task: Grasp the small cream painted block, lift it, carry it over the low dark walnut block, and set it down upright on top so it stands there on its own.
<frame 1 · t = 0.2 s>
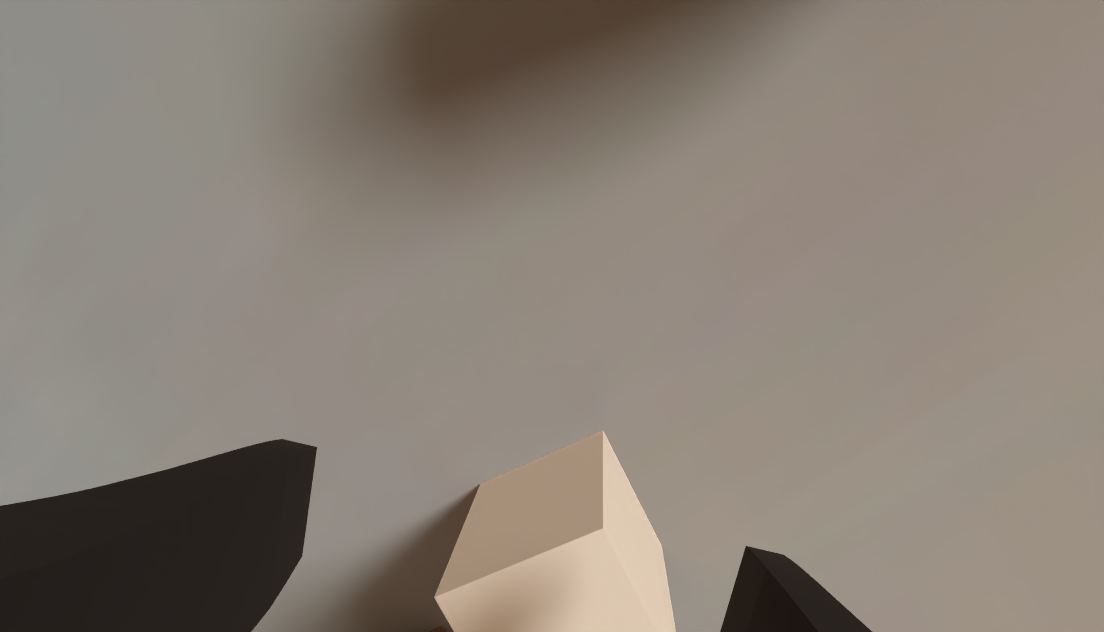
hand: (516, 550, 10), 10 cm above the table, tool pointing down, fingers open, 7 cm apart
cream block: (571, 514, 21), on the table
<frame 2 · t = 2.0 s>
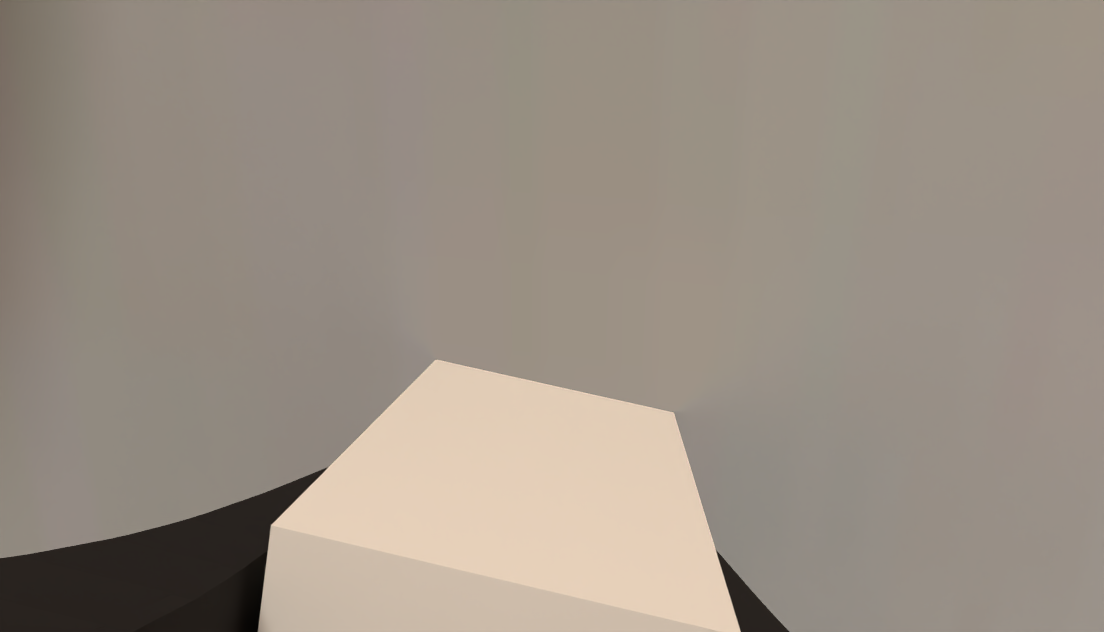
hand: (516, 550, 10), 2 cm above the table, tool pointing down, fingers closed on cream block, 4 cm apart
cream block: (530, 495, 12), on the table, touching gripper
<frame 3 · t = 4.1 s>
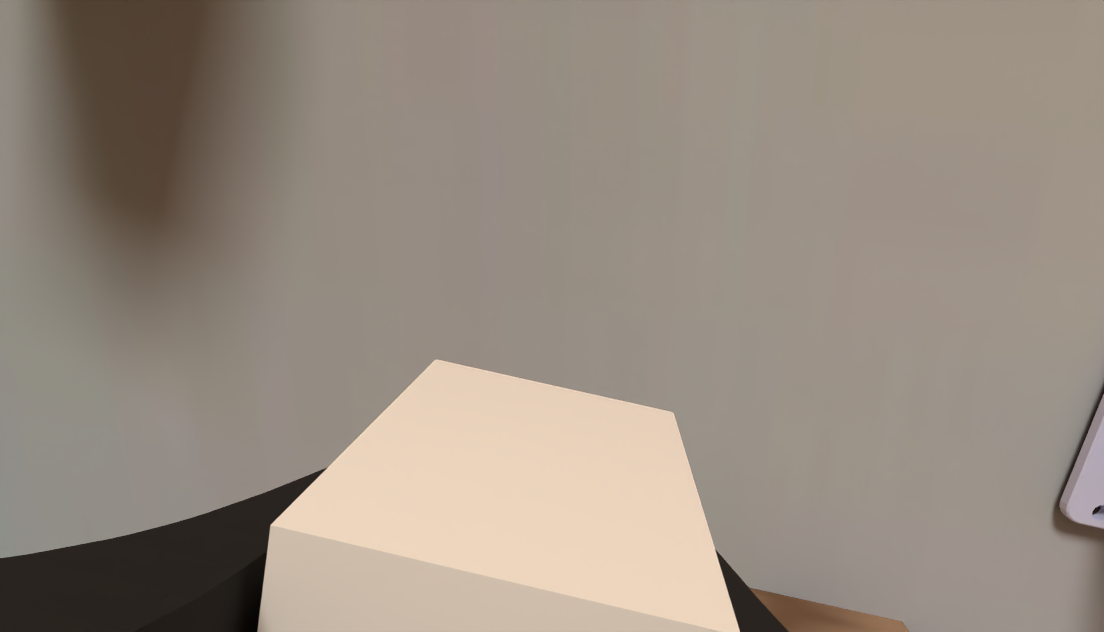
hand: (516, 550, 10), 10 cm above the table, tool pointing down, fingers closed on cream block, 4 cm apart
cream block: (529, 495, 12), point 8 cm above the table, touching gripper
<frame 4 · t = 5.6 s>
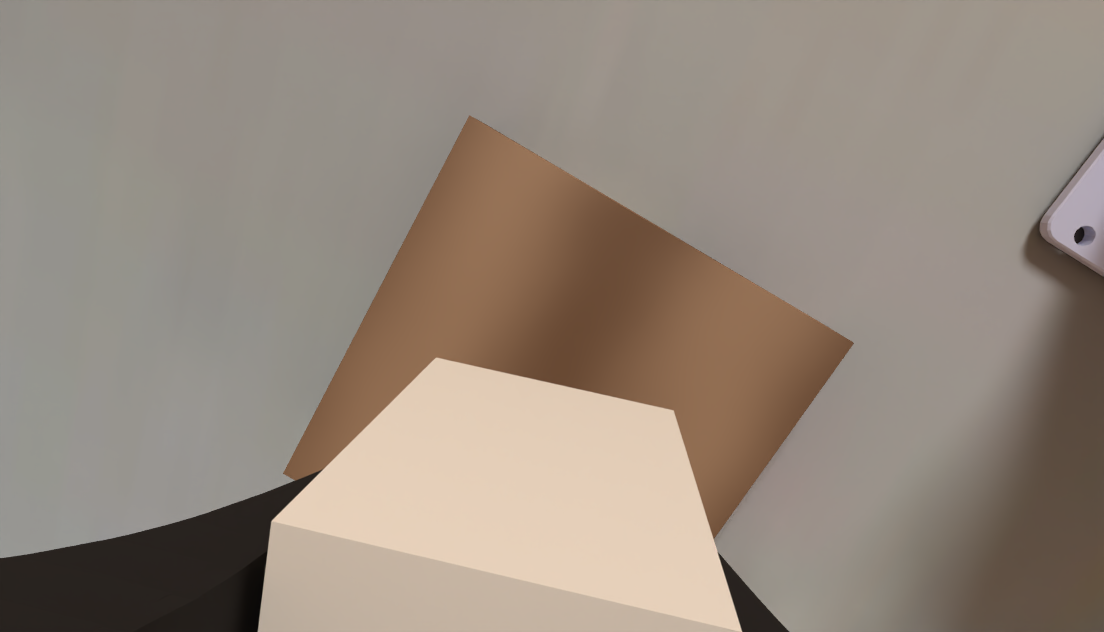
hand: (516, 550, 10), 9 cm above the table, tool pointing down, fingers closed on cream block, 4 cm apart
cream block: (530, 493, 12), point 7 cm above the table, touching gripper
walnut block: (559, 379, 20), on the table
when the fingers open (6 cm above the table, at t = 6.6 s): cream block drops 2 cm, point 2 cm above the table.
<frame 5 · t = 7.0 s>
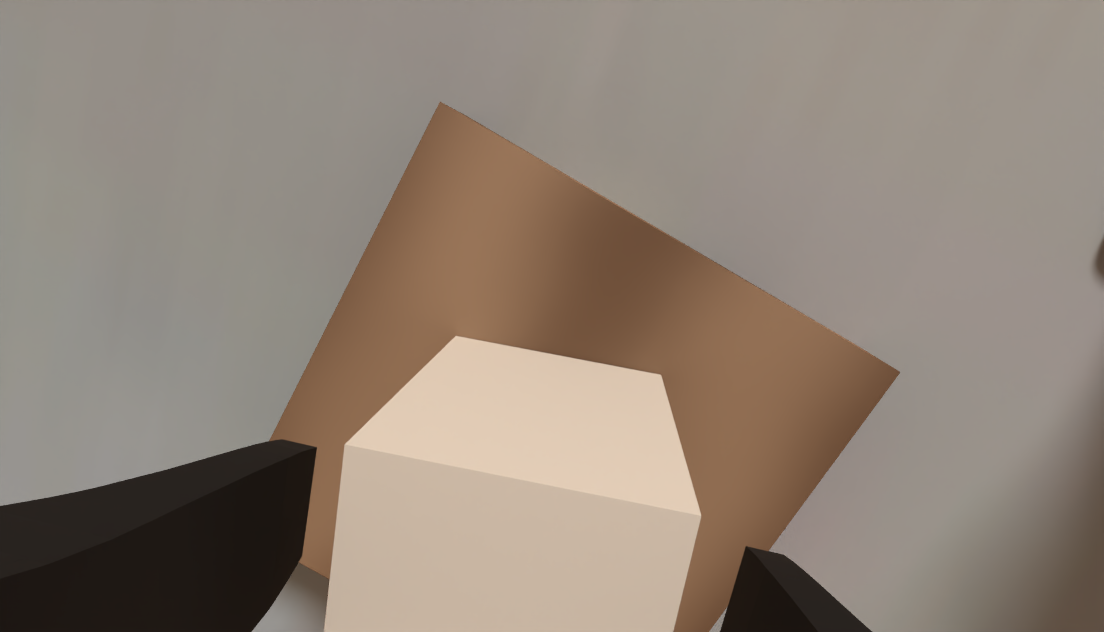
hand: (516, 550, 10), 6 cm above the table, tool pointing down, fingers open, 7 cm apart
cream block: (540, 451, 14), point 2 cm above the table
walnut block: (551, 407, 17), on the table
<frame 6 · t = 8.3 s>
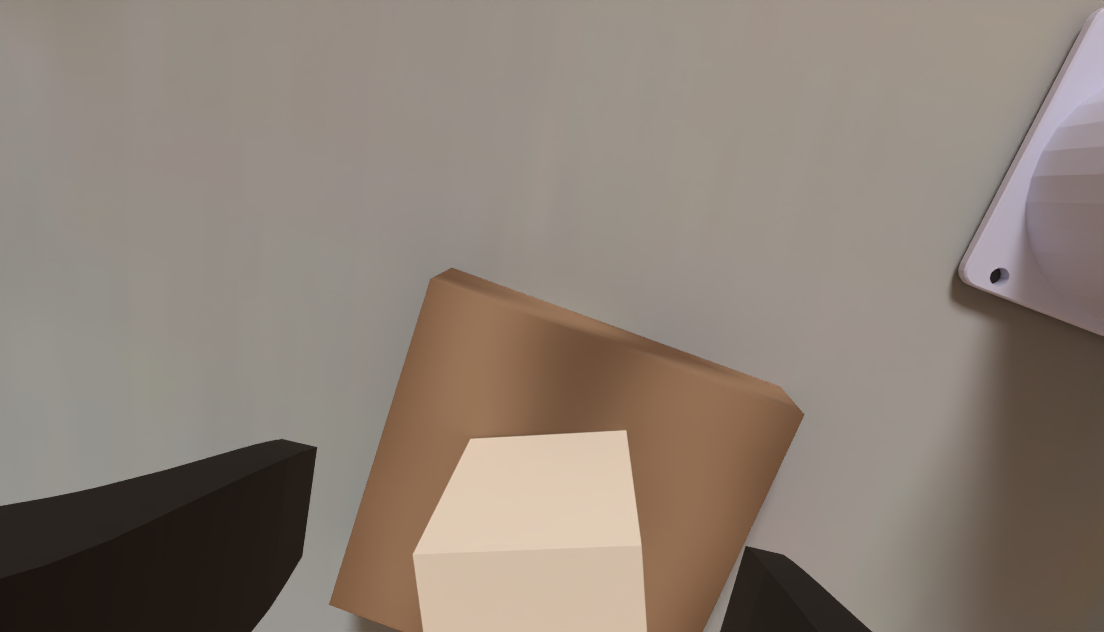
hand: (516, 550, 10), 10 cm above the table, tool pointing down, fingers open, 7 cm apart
cream block: (554, 506, 19), point 2 cm above the table, touching walnut block
walnut block: (558, 471, 22), on the table, touching cream block
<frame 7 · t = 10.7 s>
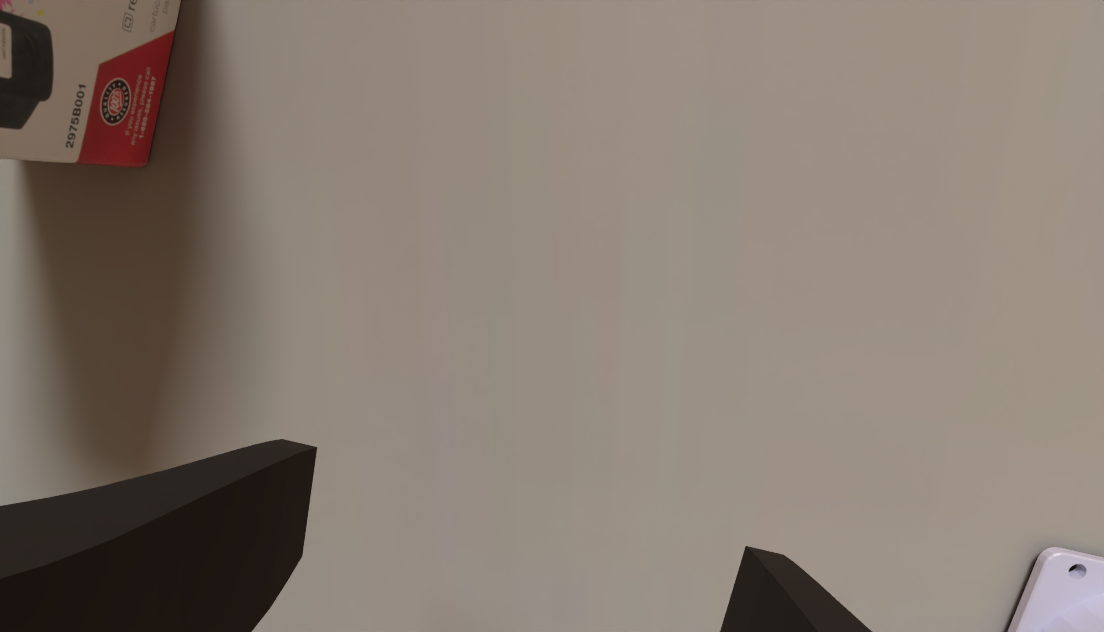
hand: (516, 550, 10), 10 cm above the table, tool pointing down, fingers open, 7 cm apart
ink box: (109, 14, 20), on the table
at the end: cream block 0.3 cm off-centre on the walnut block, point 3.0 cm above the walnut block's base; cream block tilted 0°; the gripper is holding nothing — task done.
